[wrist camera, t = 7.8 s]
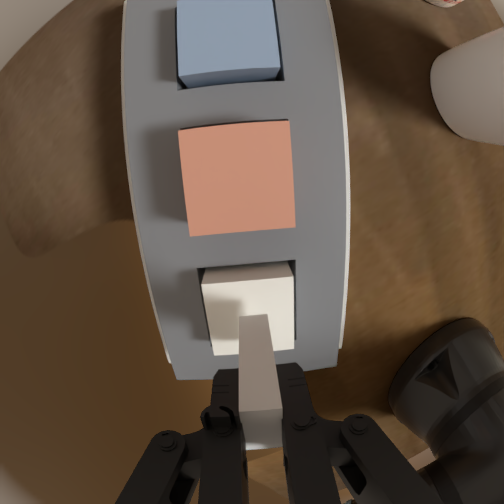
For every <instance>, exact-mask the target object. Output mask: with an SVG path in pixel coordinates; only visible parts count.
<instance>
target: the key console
mask: <svg viewBox="0 0 504 504" xmlns="http://www.w3.org/2000/svg"><path fill="white" fill-rule="evenodd" d="M272 2H273V10H274V17H275V25H276V33H277V41H278V50H279V58H280V69H279V71H278V73H277V75H276V77H275V80H274V81H270V82H249V83H235V84H224V85H215V86H206V87H199V88H192V89H188V87H187V86H186V85H185V84H184V82H183V81H182V80H181V79H180V77H179V72H178V46H177V0H126V1H124V8H123V21H122V41H121V95H122V117H123V132H124V144H125V155H126V164H127V173H128V181H129V189H130V196H131V203H132V209H133V215H134V221H135V227H136V233H137V238H138V243H139V248H140V254H141V259H142V263H143V267H144V273H145V277H146V281H147V286H148V290H149V294H150V298H151V302H152V306H153V310H154V314H155V317H156V321H157V325H158V328H159V332H160V335H161V339H162V342H163V346H164V349H165V352H166V356H167V359H168V362H169V363H171V364H172V366H173V370H174V373H175V376H176V379H177V380H204V379H213V377H214V375H215V374H216V372H217V371H218V369H235V368H239V354H234V355H217V356H214V352H213V347H212V342H211V337H210V332H209V326H208V321H207V315H206V310H205V304H204V298H203V292H202V286H201V284H202V280H203V276H204V273H205V269H206V267H216V266H228V265H240V264H251V263H263V262H274V261H285V260H287V263H288V265H289V267H290V270H291V272H292V274H293V278H294V349H288V350H279V351H273V352H274V358H275V364H285V363H293V362H296V363H297V364H298V365H299V366H300V367H301V368H302V369H303V371H309V370H316V369H322V368H328V367H334V366H336V365H337V357H338V349H340V348H342V341H343V333H344V323H345V312H346V300H347V287H348V270H349V247H350V169H349V147H348V131H347V118H346V106H345V96H344V87H343V79H342V71H341V63H340V56H339V50H338V44H337V38H336V32H335V26H334V21H333V16H332V11H331V6H330V1H329V0H272ZM269 121H289V123H290V136H291V150H292V165H293V182H294V201H295V225H296V227H294V228H282V229H269V230H257V231H246V232H234V233H223V234H212V235H202V236H191V237H190V234H189V227H188V219H187V211H186V204H185V195H184V187H183V178H182V168H181V159H180V148H179V137H178V131H179V130H186V129H193V128H201V127H209V126H218V125H228V124H239V123H252V122H269Z"/></svg>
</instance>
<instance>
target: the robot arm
mask: <svg viewBox="0 0 504 504" xmlns="http://www.w3.org/2000/svg"><path fill="white" fill-rule="evenodd" d="M388 401H389V405H390V407H391V409H392V411H393V413H394V415H395V417H396V418H397V419H398V420H399V421H400V422H401V423H402V424H404V425H405V426H406V427H407V428H408V429H410V430H411V431H412V432H413V433H414V434H415V435H417V436H418V437H419V438H420V439H422V440H423V441H424V442H425V443H426V444H427V445H428V446H429V448H430V449H431V451H432V453H433V455H434V457H435V459H436V460H435V461H434V462H432V463H430V464H428V465H427V466H425V467H423V468H421V469H419V470H417V471H416V470H415V469H414V468H413V467H412V465H411V464H410V463H409V462H408V461H407V459H406V458H405V457H404V456H403V455H402V454H401V452H400V451H399V450H398V449H397V448H396V446H395V445H394V444H393V443H392V441H391V440H390V439H389V438H388V437H387V435H386V434H385V433H384V432H383V431H382V429H381V428H380V427H379V426H378V425H377V423H376V422H375V421H374V420H373V419H372V418H371V417H369V416H367V415H364V414H354V415H350V416H349V417H347V418H346V419H344V421H331V420H326V419H323V418H321V417H320V416H318V415H317V414H316V413H315V411H314V409H313V406H312V402H311V398H310V395H309V391H308V387H307V383H306V380H305V376H304V372H303V369H302V368H301V367H300V366H299V365H298V364H297V363H296V362H293V363H285V364H275V358H274V352H273V346H272V339H271V333H270V327H269V321H268V315H267V314H260V315H248V316H239V368H235V369H218V371H217V372H216V374H215V375H214V377H213V387H212V395H211V405H210V406H209V407H207V408H205V409H204V410H203V411H202V413H201V416H200V418H201V421H202V424H203V427H204V428H203V429H201V430H200V431H197V432H194V433H191V434H186V435H181V434H180V433H178V432H176V431H170V430H167V431H162V432H160V433H158V434H156V435H155V436H154V437H153V438H152V440H151V442H150V444H149V445H148V447H147V449H146V450H145V452H144V454H143V456H142V458H141V459H140V461H139V462H138V464H137V466H136V468H135V469H134V471H133V473H132V475H131V476H130V478H129V480H128V482H127V483H126V485H125V487H124V489H123V490H122V492H121V494H120V496H119V497H118V499H117V501H116V503H115V504H189V503H190V501H191V498H192V496H193V493H194V491H195V488H196V486H197V483H198V481H199V478H200V486H199V499H198V504H249V492H248V467H247V458H246V450H253V449H267V448H276V447H283V452H284V466H285V473H286V480H287V488H288V496H289V503H290V504H341V502H340V497H339V493H338V489H337V485H336V481H335V477H334V473H333V470H332V466H334V468H335V469H336V471H337V473H338V474H339V476H340V477H341V479H342V481H343V482H344V484H345V485H346V487H347V488H348V490H349V491H350V493H351V495H352V496H353V498H354V500H352V499H351V500H348V501H347V502H346V503H344V504H504V361H503V358H502V356H501V354H500V352H499V350H498V348H497V346H496V344H495V340H494V338H493V335H492V334H491V332H490V331H489V330H488V329H487V328H486V327H485V326H484V325H483V324H482V323H480V322H479V321H478V320H476V319H471V318H467V319H461V320H458V321H455V322H453V323H451V324H449V325H447V326H445V327H443V328H442V329H440V330H439V331H437V332H436V333H434V334H433V335H432V336H431V337H429V338H428V339H427V340H426V341H425V342H423V343H422V344H421V345H420V346H419V347H418V348H417V349H416V350H415V351H414V352H413V353H412V354H411V356H410V357H409V358H408V359H407V360H406V362H405V363H404V364H403V365H402V367H401V368H400V370H399V371H398V373H397V374H396V376H395V378H394V380H393V382H392V384H391V387H390V390H389V395H388Z"/></svg>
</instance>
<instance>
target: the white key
mask: <svg viewBox="0 0 504 504" xmlns="http://www.w3.org/2000/svg"><path fill="white" fill-rule="evenodd" d="M201 286H202V292H203V298H204V304H205V310H206V315H207V321H208V326H209V332H210V337H211V342H212V347H213V352H214V356H217V355H234V354H239V316H248V315H260V314H267V315H268V321H269V327H270V333H271V339H272V346H273V351H279V350H288V349H294V278H293V274H292V272H291V270H290V267H289V265H288V263H287V260H285V261H274V262H263V263H251V264H240V265H228V266H216V267H206V269H205V273H204V276H203V280H202V284H201Z"/></svg>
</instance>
